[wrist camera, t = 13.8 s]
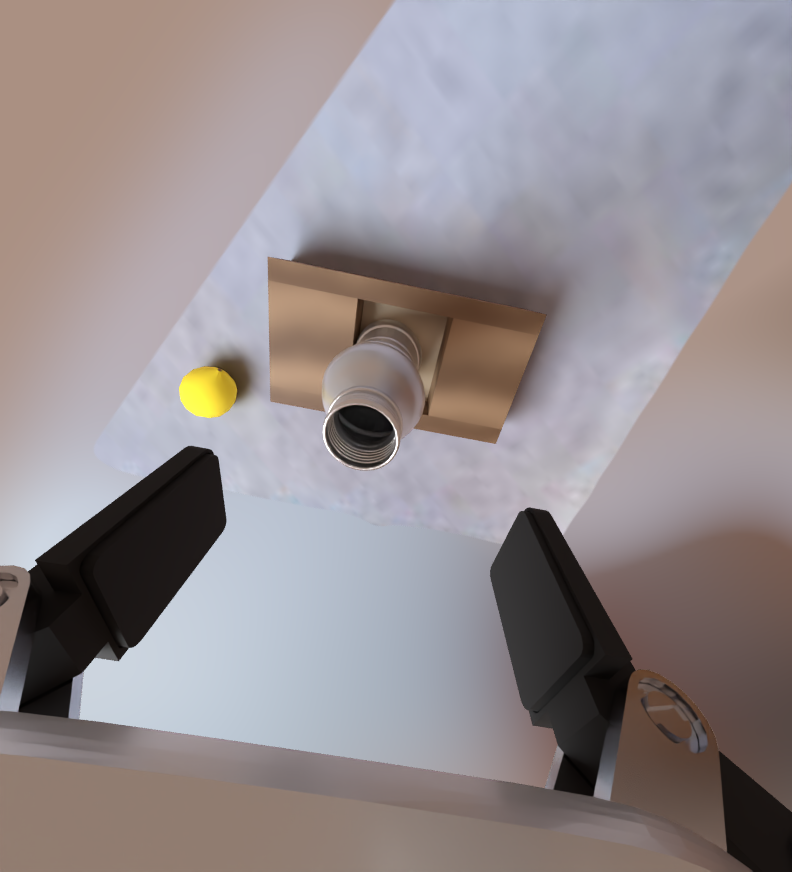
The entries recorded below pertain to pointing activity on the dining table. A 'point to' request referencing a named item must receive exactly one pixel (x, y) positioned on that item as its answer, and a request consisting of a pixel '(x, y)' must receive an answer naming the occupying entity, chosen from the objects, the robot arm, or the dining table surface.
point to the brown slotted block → (433, 326)
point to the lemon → (208, 392)
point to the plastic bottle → (373, 395)
